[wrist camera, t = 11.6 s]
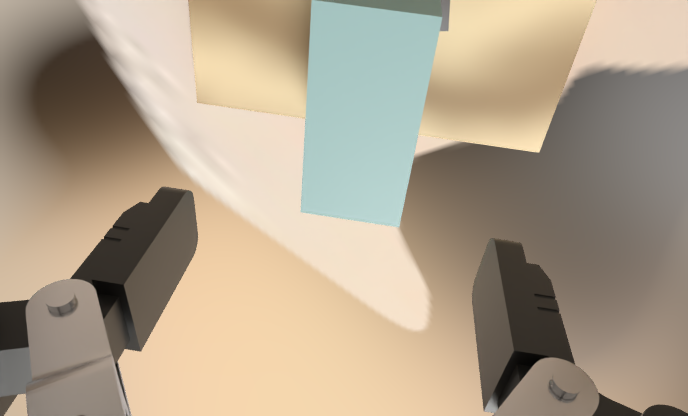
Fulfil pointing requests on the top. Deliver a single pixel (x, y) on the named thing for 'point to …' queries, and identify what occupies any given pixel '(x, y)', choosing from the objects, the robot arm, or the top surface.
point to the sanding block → (365, 104)
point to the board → (446, 75)
